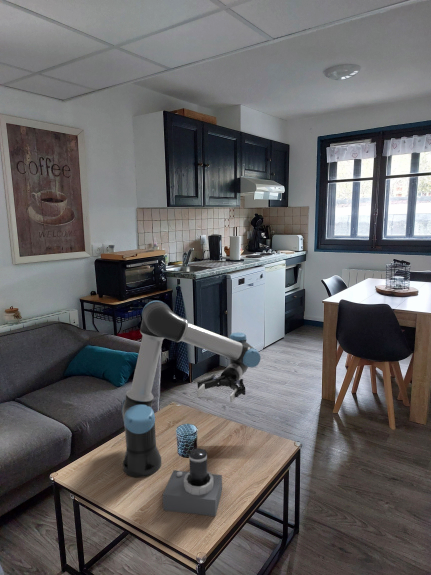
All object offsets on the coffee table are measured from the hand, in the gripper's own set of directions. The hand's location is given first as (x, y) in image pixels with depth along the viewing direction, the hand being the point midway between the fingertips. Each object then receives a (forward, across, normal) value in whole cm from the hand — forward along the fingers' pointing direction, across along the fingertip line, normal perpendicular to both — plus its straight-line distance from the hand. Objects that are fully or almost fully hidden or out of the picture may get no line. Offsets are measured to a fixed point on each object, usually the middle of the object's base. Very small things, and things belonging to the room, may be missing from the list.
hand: (214, 396), depth 150 cm
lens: (+19, -1, -24) cm, 30 cm away
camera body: (+19, +1, -30) cm, 36 cm away
